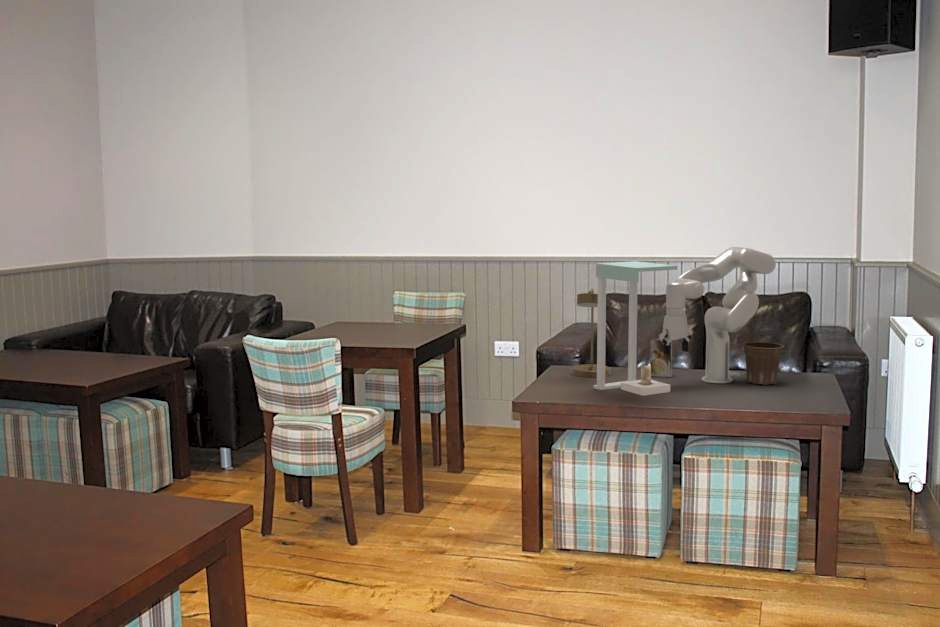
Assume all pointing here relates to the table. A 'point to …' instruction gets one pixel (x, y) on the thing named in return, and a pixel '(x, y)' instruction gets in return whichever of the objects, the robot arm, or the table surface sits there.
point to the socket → (645, 387)
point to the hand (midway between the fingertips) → (676, 352)
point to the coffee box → (660, 359)
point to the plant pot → (762, 362)
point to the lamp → (591, 369)
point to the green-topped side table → (631, 274)
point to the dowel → (645, 375)
